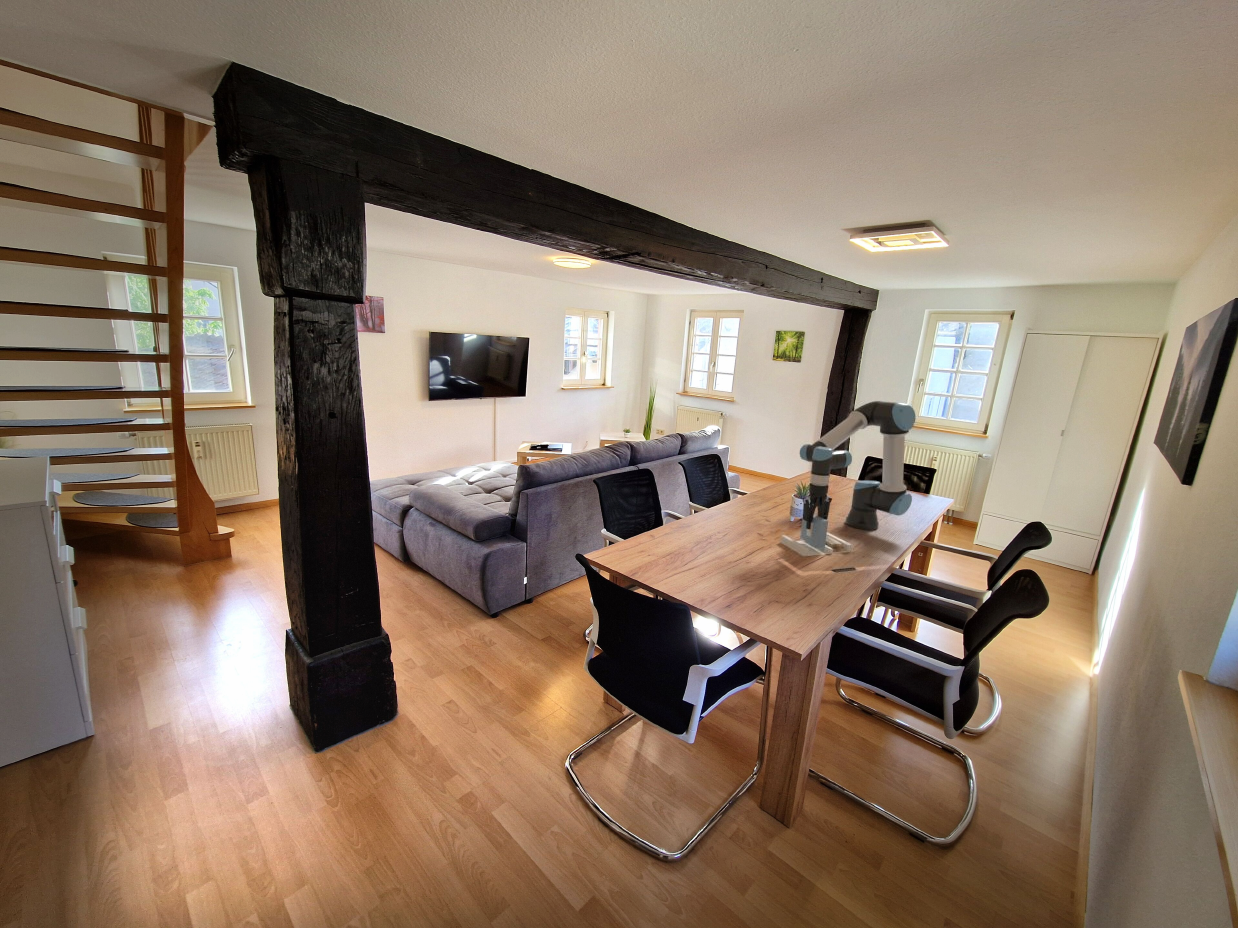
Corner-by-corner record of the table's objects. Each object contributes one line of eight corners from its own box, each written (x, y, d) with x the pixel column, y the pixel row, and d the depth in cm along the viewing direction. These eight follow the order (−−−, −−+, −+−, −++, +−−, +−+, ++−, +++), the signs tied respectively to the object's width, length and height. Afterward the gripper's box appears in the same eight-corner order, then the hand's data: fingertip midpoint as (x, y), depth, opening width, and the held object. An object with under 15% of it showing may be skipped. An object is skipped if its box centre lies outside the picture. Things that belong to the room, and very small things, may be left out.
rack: (825, 540, 225) (826, 531, 224) (850, 554, 210) (851, 544, 209) (780, 544, 219) (781, 535, 218) (803, 558, 204) (804, 548, 203)
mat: (831, 556, 207) (832, 555, 207) (856, 570, 194) (856, 568, 194) (811, 558, 204) (812, 557, 204) (835, 572, 191) (835, 571, 191)
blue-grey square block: (806, 537, 219) (809, 512, 217) (825, 547, 208) (828, 520, 206) (800, 538, 218) (803, 512, 216) (818, 548, 207) (821, 521, 205)
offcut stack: (822, 539, 223) (823, 533, 223) (844, 551, 210) (845, 544, 210) (810, 540, 222) (811, 534, 221) (832, 552, 209) (833, 545, 208)
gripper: (829, 480, 213) (823, 531, 218) (797, 482, 209) (791, 534, 214) (841, 484, 206) (835, 537, 211) (808, 486, 202) (802, 540, 207)
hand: (813, 535), depth 213 cm, fingers closed on blue-grey square block, 3 cm apart
